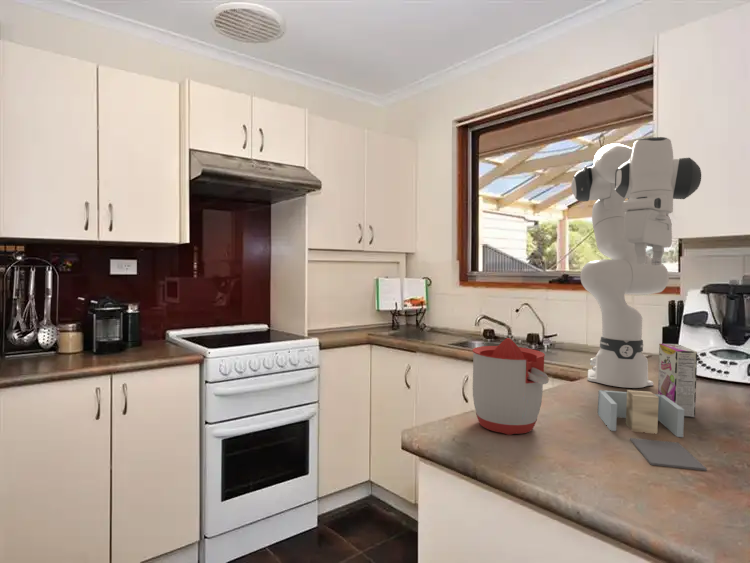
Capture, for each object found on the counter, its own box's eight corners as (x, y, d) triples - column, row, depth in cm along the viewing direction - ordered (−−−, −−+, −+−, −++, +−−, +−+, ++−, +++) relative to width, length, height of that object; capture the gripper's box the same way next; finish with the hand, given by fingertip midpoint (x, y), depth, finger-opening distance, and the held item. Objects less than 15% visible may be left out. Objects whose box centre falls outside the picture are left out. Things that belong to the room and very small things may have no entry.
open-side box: (597, 414, 116) (598, 389, 116) (662, 419, 113) (663, 394, 113) (610, 430, 105) (611, 403, 104) (683, 437, 101) (684, 409, 101)
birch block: (625, 424, 109) (626, 390, 109) (649, 426, 108) (650, 391, 108) (632, 431, 104) (633, 395, 104) (657, 433, 103) (658, 397, 103)
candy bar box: (655, 403, 127) (658, 343, 126) (676, 405, 126) (679, 344, 125) (673, 416, 116) (676, 350, 115) (696, 418, 115) (698, 351, 114)
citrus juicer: (519, 447, 94) (522, 347, 93) (455, 422, 108) (458, 335, 107) (564, 432, 103) (567, 341, 102) (500, 411, 117) (502, 331, 116)
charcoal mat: (630, 439, 99) (630, 437, 99) (678, 444, 97) (678, 442, 97) (650, 464, 86) (650, 462, 86) (706, 470, 84) (706, 468, 84)
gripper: (651, 212, 120) (650, 266, 120) (619, 201, 106) (618, 263, 106) (680, 209, 115) (678, 266, 115) (650, 198, 102) (648, 262, 102)
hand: (649, 264), depth 111 cm, fingers open, 8 cm apart
